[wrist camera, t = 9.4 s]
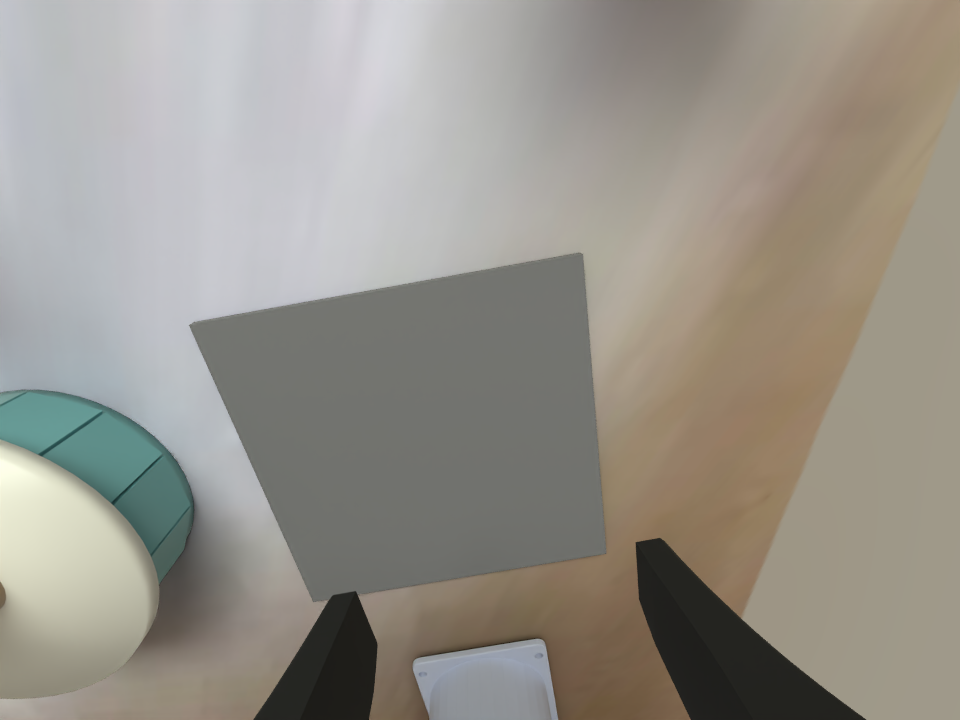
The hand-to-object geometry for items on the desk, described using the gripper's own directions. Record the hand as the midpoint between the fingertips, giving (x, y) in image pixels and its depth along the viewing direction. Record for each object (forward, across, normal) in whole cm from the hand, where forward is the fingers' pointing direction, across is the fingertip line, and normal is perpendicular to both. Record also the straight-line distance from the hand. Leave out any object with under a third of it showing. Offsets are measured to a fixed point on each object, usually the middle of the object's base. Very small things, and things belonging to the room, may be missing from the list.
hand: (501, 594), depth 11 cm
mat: (+10, +3, +2) cm, 10 cm away
